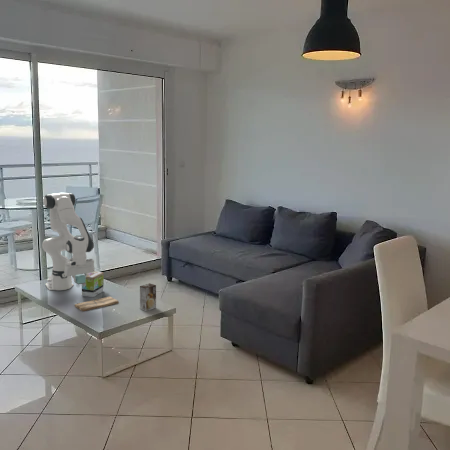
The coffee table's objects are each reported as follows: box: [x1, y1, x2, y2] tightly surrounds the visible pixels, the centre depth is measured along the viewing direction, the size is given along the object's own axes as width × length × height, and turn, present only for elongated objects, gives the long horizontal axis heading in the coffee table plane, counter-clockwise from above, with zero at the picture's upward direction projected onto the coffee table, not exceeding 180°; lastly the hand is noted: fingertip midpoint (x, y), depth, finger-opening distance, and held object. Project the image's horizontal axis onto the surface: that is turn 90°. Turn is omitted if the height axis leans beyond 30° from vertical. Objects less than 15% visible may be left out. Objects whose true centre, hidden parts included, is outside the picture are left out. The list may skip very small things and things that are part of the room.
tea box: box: [81, 270, 105, 298], centre depth 330 cm, size 15×10×15 cm
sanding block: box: [73, 274, 85, 285], centre depth 308 cm, size 6×5×5 cm
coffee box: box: [139, 283, 157, 312], centre depth 303 cm, size 9×6×16 cm
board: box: [74, 296, 120, 312], centre depth 308 cm, size 12×26×2 cm, turn 134°
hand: (79, 280), depth 308 cm, fingers closed on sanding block, 5 cm apart
